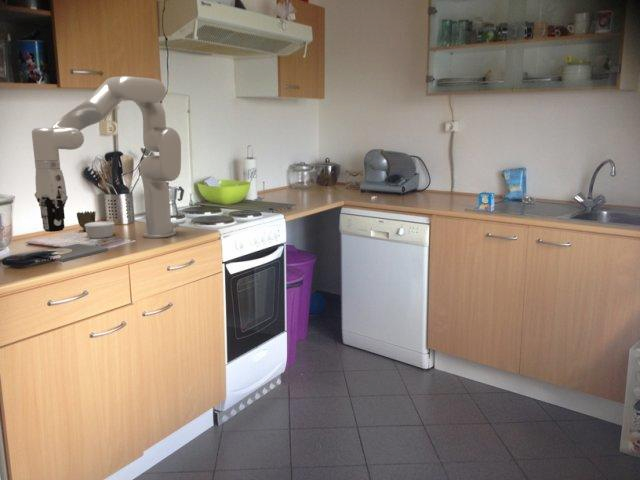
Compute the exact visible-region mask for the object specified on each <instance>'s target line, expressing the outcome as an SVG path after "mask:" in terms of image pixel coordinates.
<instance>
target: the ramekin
mask: <svg viewBox="0 0 640 480" xmlns="http://www.w3.org/2000/svg"><path fill="white" fill-rule="evenodd" d="M115 225H116V223H115V222H113V221H107V220H106V221H105V220H104V221H101V220H100V221H95V222H91V223H87V224H85V225H84V226H85V228H86V235H87V237H88V238H89V237H90V239H106V238H105V237H107V238H111V237H112V236H113V235H114V231H115Z"/></svg>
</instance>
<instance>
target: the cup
mask: <svg viewBox="0 0 640 480" xmlns="http://www.w3.org/2000/svg"><path fill="white" fill-rule="evenodd" d="M96 215H97V214H96V211H88V210H87V211H86V210H85V211H84V212H83V211H81V212H80V211H78V212H76V218H77V222H78V226H79V227H81V228H82V231H83V232H86V228H85V226H84V225H85V224H87V223H91V222H96ZM86 233H87V232H86Z"/></svg>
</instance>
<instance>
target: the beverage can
mask: <svg viewBox="0 0 640 480" xmlns="http://www.w3.org/2000/svg"><path fill="white" fill-rule="evenodd" d="M41 197H42V198H41V200H40V202H41V209H40V213H41V212H42V218H41V219H42V229H43V230H44V231H45V232H48V233H52V232H53V233H54V232H61V231H63V230H64V229H65V219H62V220H56V219H55V211H54V208H56V207H55V205H54V202H53V200H51V199H49V196H41ZM57 198H59V197H57ZM57 198H56V199H57ZM57 202H58V203H59V201H57Z"/></svg>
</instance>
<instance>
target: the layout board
mask: <svg viewBox="0 0 640 480" xmlns="http://www.w3.org/2000/svg"><path fill="white" fill-rule="evenodd" d="M108 250H109V248H108V247H102V246H97V245H96V246H94V245H90V244H89V245H87V244H82V243H74V244H70V245H65V246H60V247H56V248H52V249H48V250H45V251H57V252H59V254H60V256H61V257H60V258H58V259H57V260H55V261H56V262H63V263H64V262H67V261H68V262H69V261H72V260H75V259H80V258H84V257H88V256H92V255H96V254H101V253H105V252H108Z"/></svg>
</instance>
